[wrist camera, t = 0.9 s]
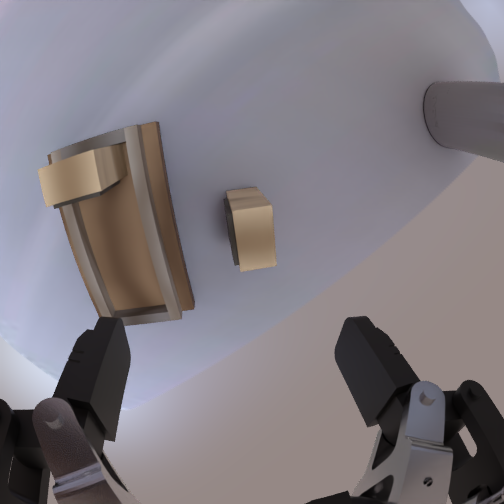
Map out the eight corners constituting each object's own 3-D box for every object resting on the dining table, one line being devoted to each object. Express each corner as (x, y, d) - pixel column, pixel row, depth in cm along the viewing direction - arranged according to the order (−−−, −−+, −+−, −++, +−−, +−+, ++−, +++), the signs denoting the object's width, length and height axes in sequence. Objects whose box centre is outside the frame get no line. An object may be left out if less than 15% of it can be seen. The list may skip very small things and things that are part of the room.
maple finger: (261, 235, 29) (276, 265, 23) (229, 239, 29) (236, 272, 22) (256, 186, 27) (271, 205, 21) (222, 191, 26) (227, 211, 20)
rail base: (158, 122, 23) (135, 118, 15) (194, 301, 31) (193, 353, 24) (54, 153, 21) (6, 166, 14) (104, 313, 30) (84, 361, 23)
